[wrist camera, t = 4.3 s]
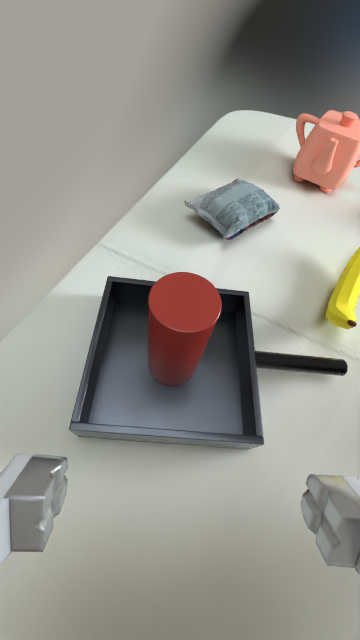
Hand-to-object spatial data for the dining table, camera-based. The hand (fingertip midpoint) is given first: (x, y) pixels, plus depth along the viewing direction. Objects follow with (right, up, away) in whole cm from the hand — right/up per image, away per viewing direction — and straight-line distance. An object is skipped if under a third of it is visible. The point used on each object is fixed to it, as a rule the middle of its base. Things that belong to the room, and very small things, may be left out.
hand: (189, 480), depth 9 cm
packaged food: (+7, +21, +32) cm, 39 cm away
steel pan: (+3, +1, +19) cm, 19 cm away
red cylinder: (-1, +1, +18) cm, 18 cm away
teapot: (+25, +32, +41) cm, 57 cm away
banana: (+20, +8, +26) cm, 34 cm away
